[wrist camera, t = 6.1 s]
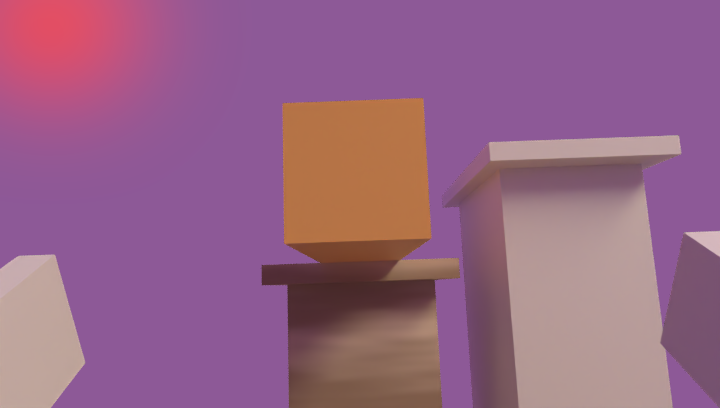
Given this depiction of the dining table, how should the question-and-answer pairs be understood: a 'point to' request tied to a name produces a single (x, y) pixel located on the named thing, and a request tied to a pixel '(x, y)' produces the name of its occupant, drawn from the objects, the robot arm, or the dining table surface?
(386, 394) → the birch stand
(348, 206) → the orange bar
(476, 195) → the grey stand
